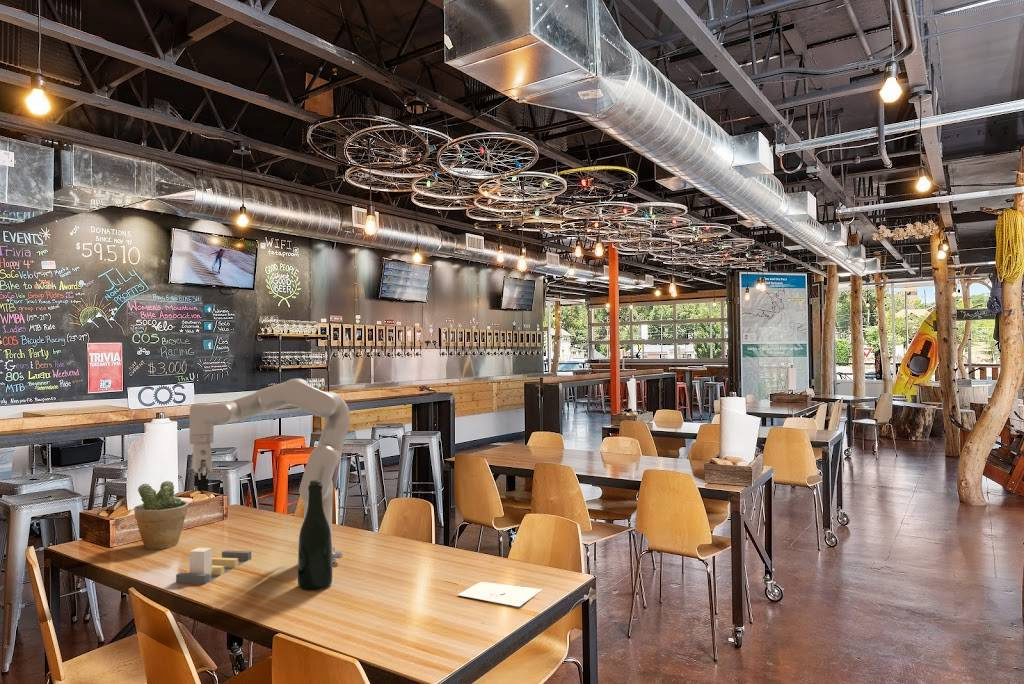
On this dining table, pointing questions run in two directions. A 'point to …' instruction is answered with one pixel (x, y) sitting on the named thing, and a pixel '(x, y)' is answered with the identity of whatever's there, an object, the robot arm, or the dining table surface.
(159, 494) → the potted plant
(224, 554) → the notch rail
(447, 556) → the dining table surface
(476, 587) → the paper sheet
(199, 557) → the frame block
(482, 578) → the dining table surface
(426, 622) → the dining table surface
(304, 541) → the beer bottle
